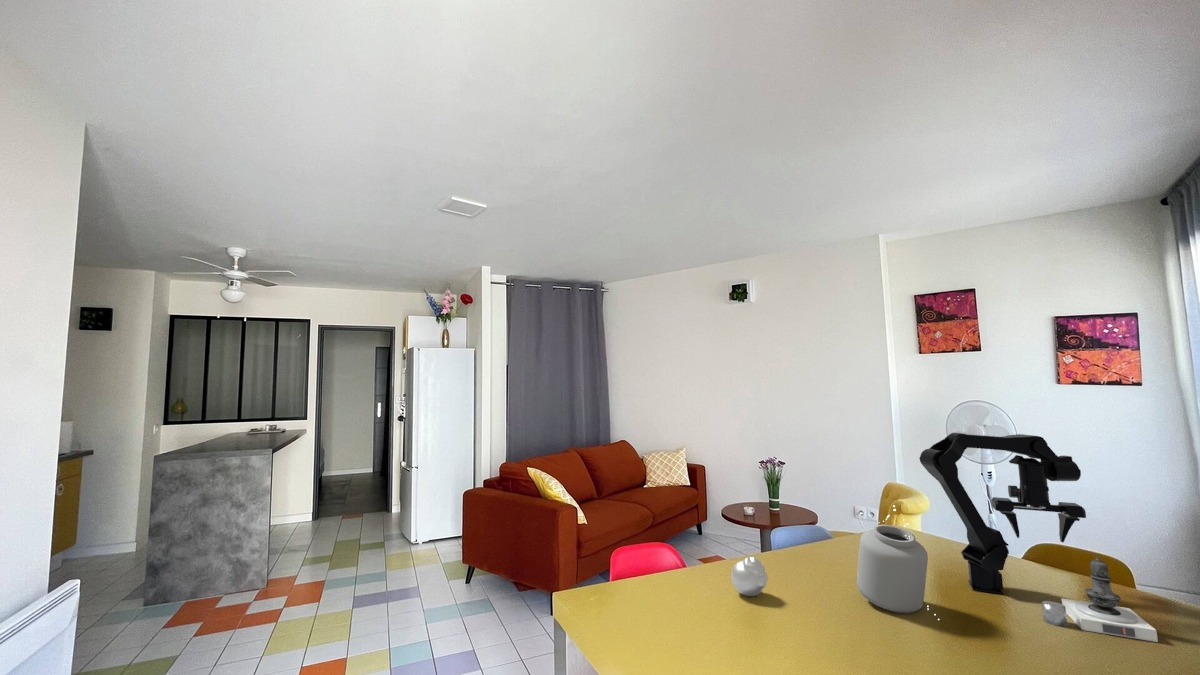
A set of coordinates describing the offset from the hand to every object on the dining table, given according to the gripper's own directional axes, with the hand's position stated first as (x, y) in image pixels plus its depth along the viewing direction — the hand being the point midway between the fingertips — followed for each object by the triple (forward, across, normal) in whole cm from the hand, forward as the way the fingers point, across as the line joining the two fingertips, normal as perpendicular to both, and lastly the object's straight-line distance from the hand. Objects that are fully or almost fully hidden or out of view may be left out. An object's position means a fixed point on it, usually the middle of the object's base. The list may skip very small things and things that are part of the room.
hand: (1039, 539), depth 133 cm
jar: (+13, +36, +30) cm, 49 cm away
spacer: (+13, +4, +23) cm, 27 cm away
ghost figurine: (+13, +70, +39) cm, 81 cm away
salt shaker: (+10, -6, +19) cm, 22 cm away
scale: (+13, -6, +19) cm, 24 cm away
